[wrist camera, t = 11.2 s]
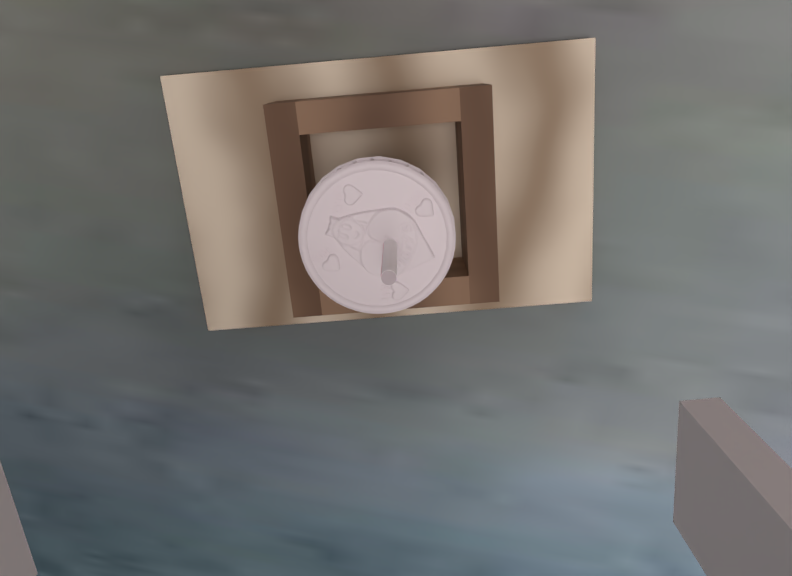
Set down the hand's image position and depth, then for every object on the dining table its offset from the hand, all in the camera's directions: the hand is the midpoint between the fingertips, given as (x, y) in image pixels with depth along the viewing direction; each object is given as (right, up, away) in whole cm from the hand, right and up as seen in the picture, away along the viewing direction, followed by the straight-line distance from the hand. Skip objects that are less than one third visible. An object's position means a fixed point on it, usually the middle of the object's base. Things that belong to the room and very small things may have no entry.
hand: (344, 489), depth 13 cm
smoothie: (0, +9, +22) cm, 24 cm away
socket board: (+1, +9, +23) cm, 25 cm away
